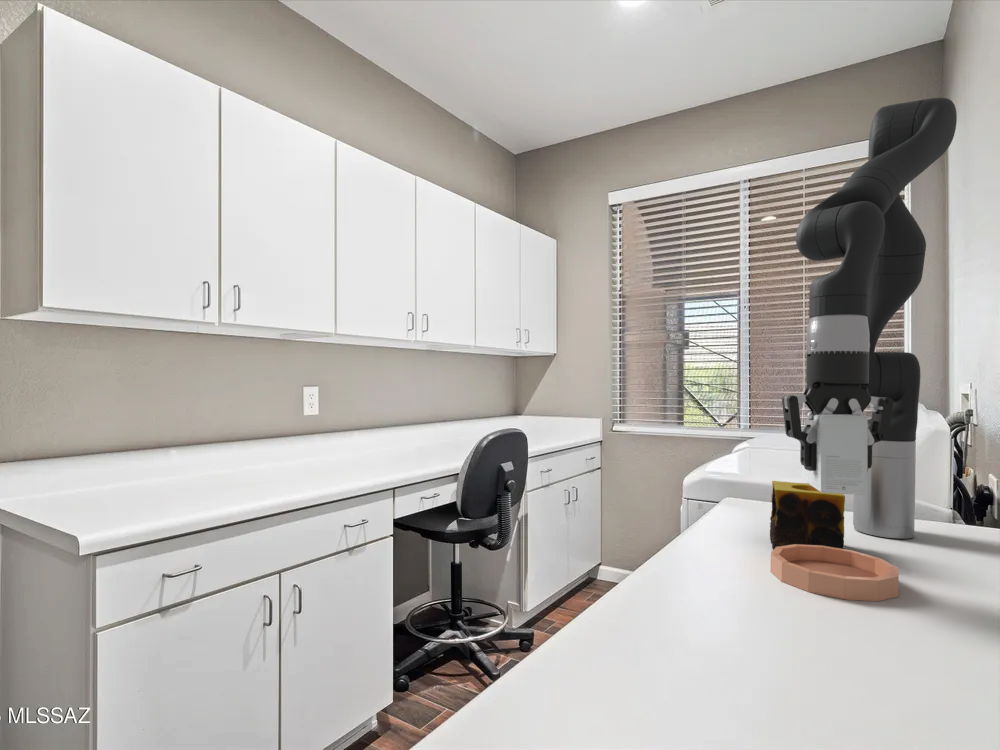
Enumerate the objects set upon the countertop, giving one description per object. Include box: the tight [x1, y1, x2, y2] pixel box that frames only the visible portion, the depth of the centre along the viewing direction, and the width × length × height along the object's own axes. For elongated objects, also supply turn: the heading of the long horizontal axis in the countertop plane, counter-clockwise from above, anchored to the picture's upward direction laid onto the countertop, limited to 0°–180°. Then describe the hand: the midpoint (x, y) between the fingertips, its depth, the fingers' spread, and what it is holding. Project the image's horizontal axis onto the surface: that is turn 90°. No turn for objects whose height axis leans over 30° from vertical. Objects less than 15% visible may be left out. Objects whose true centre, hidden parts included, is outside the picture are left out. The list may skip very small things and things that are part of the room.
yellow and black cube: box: [769, 480, 846, 551], centre depth 94 cm, size 10×10×10 cm
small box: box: [806, 411, 868, 496], centre depth 78 cm, size 8×6×10 cm
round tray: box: [769, 544, 900, 602], centre depth 78 cm, size 15×15×3 cm
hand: (835, 470), depth 79 cm, fingers closed on small box, 6 cm apart
